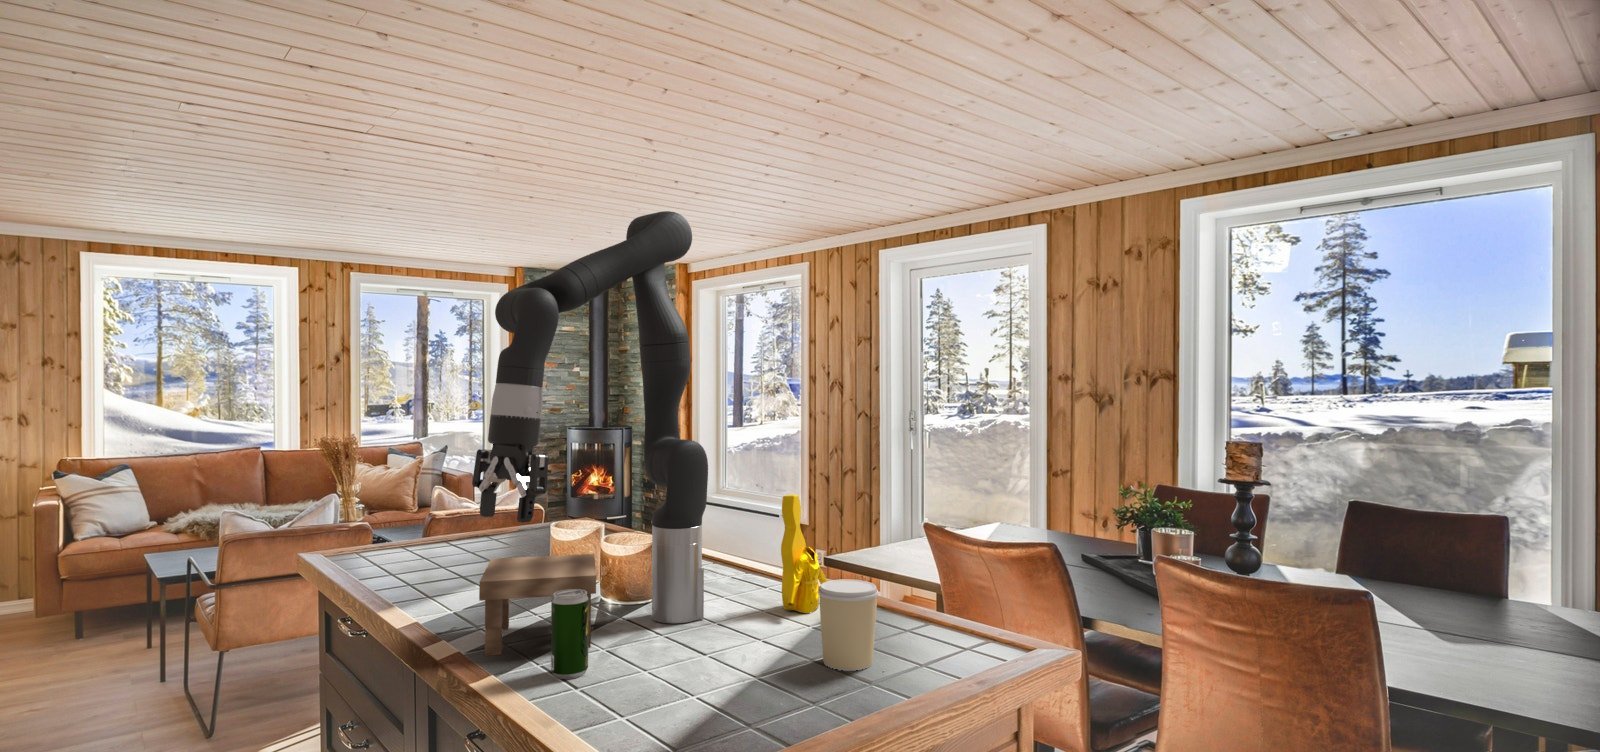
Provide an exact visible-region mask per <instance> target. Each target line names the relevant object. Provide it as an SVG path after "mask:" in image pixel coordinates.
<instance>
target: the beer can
mask: <svg viewBox="0 0 1600 752" xmlns="http://www.w3.org/2000/svg"><path fill="white" fill-rule="evenodd" d="M550 610H551V611H550V612H551V613H550V614H551V615H550V616H551V617H550V618H551V619H550V621H551V625H550V627H551V628H550V629H551V631H550V632H551V633H550V634H551V635H550V637H551V638H550V670H551V673H552V676H553V677H554V678H556V679H560V680H569V679H570V680H571V679H576V678H580V677H582V676H584V675H585V674H586V673H587V671H588V669H589V648H588V614H589V599H588V597H587V591H585V590H580V589H568V590H561V591H557V592H555V593H554V594H553V596H552V599H551V609H550Z"/></svg>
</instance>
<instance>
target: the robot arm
mask: <svg viewBox="0 0 1600 752" xmlns="http://www.w3.org/2000/svg"><path fill="white" fill-rule="evenodd" d="M625 238H626V239H625V240H623V241H620V242H618V243H616V244H613V245H610V246H608V247H605V248H603V249H602V248H601V249H600V250H597V251H595V252H592V253H589V254H587V255H584V256H582V257H580V258H578V259H574V260H573V261H571V262H569V263H568V264H565V265H564V266H562V267H560V268H558V269H556V270H555V271H553V272H552V273H550V274H548V275H545V276H543V277H541V278H538V279H535V280H533V281H530V282H527V283H524V284H522V285H519V286H517V287H515V288H513V289H511V290H508V291H507V292H506V293H504V294H503V295H502V296H501V297H500V298H499V299H498V301H497V304H496V306H495V311H494V315H495V319H496V322H497V324H498V325H499V326H500V327H501V328H502V329H503V330H505V331H506V332H508V333H510V334H513V337H512V340H511V343H510V344H509V345H508V346H507V347H505V348H504V349H502V350H501V351H500V353H499V357H498V359H497V368H496V377H495V378H496V379H495V386H494V391H493V394H492V397H491V407H490V417H489V425H488V432H487V433H488V436H487V442H488V443H489V444H492V447H491V449H483V448H482V449H477V450H476V454H475V455H476V456H475V461H474V466H473V467H474V469H473V476H472V480H471V485H472V487H473V488H477V489H478V490H479V491H480V493H481V495H480V503H479V515H480V517H483V518H486V517H487V518H493V517H494V516H495V513H496V505H497V504H496V503H497V494H498V493H497V492H496V491H497V490H498V489H499V487H500V485H501V484H502V483H503V482H505V481H506V480H507V481H512V483H513V485H514V486H516V487H517V490H518V493H519V499H518V505H517V506H518V507H517V518H516V521H517V522H518V523H530V522H531V521H532V519H533V517H534V514H535V513H534V512H535V510H534V509H535V502H536V501H535V500H536V497H538V496H540V495H544V494H546V493H547V489H548V477H549V476H548V475H549V473H548V472H549V471H548V470H549V459H550V458H549V455H548V454H541V453H534V447H537V446H538V445H539V442H540V434H541V433H540V430H541V421H542V413H543V411H542V410H543V404H544V403H543V399H544V398H543V385H544V376H545V365H546V364H545V363H546V360H547V358H548V355H549V353H550V350H551V347H552V343H553V341H554V338H555V335H556V332H557V329H558V325H559V324H558V323H559V319H560V317H559V316H560V314H562V313H565V312H570V311H574V310H577V309H578V308H580V307H582V306H583V305H585V304H587V303H588V302H591V301H592V300H594V299H596V298H598V297H599V296H601V295H603V294H604V293H606V292H607V291H609V290H611V289H613V288H615V287H616V286H618V285H620V284H622V283H623V282H625V281H627V280H629V279H631V280H632V285H633V292H634V298H635V307H636V315H637V316H636V317H637V325H638V326H637V327H638V328H637V329H638V345H639V346H638V347H639V356H640V357H639V358H640V359H639V361H640V368H641V375H642V376H641V378H642V392H643V404H644V405H643V407H644V408H643V409H644V441H643V442H644V443H643V458H644V459H643V461H644V470H645V473H646V475H647V477H648V479H649V480H650V482H652V483H653V484H654V485H656V486H659V487H662V488H663V487H664V488H666V489H665V490H666V495H665V500H664V503H663V504H662V505H661V506H659V507H657V508H655V509H654V510H653V512H652V515H651V517H652V518H651V519H652V520H651V521H652V522H651V523H652V525H651V526H652V527H651V530H652V531H651V532H652V534H651V535H652V536H651V539H652V540H651V541H652V543H651V545H652V547H651V548H652V549H651V558H652V559H651V619H652V620H653V621H655V622H658V623H662V624H686V623H690V622H694V621H698V620H704V614H705V613H704V604H705V603H704V602H705V601H704V599H705V595H704V593H705V591H704V590H705V587H704V585H705V584H704V583H705V576H704V575H705V574H704V572H705V569H704V566H703V565H702V564H703V515H704V513H705V510H706V507H707V501H708V500H707V499H708V498H707V497H708V485H709V483H708V482H709V480H708V479H709V462H708V455H707V452H706V450H705V449H704V447H703V446H702V445H701V444H700V443H699V442H697V441H695V440H693V439H692V440H691V439H684V438H683V439H681V436H680V427H679V407H680V403H681V400H682V397H683V394H684V392H685V389H686V386H687V384H688V381H689V377H690V374H691V351H690V350H691V349H690V338H689V332H688V329H687V327H686V324H685V322H684V320H683V319H682V317H681V314H680V313H679V311H678V309H677V308H676V306H675V305H674V303H673V300H672V298H671V296H670V294H669V290H668V286H667V280H666V268H665V264H666V263H671V262H676V261H678V260H680V259H681V258H684V256H685V255H686V254H687V253H688V252H689V250H690V248H691V246H692V242H693V231H692V228H691V226H690V223H689V222H688V220H687V219H686V218H685V216H683V215H682V214H681V213H678V212H676V211H669V210H666V211H665V210H664V211H663V210H662V211H658V212H653V213H649V214H645V215H641V216H638V217H636V218H635V217H634V219H633V220H631V222H630V223H629V225H628V227H627V230H626V237H625ZM482 473H483V477H482V479H481V476H482ZM538 479H539V481H538ZM538 482H539V483H538Z"/></svg>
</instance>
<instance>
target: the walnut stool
mask: <svg viewBox="0 0 1600 752" xmlns="http://www.w3.org/2000/svg"><path fill="white" fill-rule="evenodd" d="M596 570H597V568H596V558H595V553H583V554H565V555H563V554H562V555H545V556H544V555H542V556H524V557H523V556H521V557H503V558H501V557H499V558H491V559H490V560H489V562H488V565H487V566H486V568H485V570H484V572H483V574H482V576H481V577H480V579H479V584H478V585H479V587H478V588H479V591H478V592H479V593H478V594H479V595H478V596H479V597H478V599H479V601H482V602H483V601H484V656H497V655H499V656H500V655H502V652H503V651H502V650H503V631H505V630H509V628H510V600H512V599H529V598H547V597H553V594H554V593H555V592H557V591H561V590H568V589H580V590H585V591H587V597H588V599H589V614H588V649H589V648H590V649H591V648H592V647H591V646H592V645H591V643H592V642H591V641H592V640H591V639H592V638H591V636H592V634H591V633H592V632H591V631H592V626H591V625H592V624H591V623H592V622H591V621H592V609H591V608H592V602H591V601H592V595H593V594H597V571H596Z"/></svg>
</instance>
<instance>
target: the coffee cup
mask: <svg viewBox="0 0 1600 752" xmlns="http://www.w3.org/2000/svg"><path fill="white" fill-rule="evenodd" d="M818 594H819V614H820V615H819V617H820V631H821V632H820V633H821V645H822V646H821V649H822V658H823V664H824V665H825V666H826V667H827V666H828V668H829V667H830V669H832V668H833V669H832V670H835V669H838V670H837V671H841V670H843V671H844V672H855V671H856V670H858V671H862V669H863V670H866V669H865V668H867V669H869V668H870V667H871V666H873V662H874V661H873V660H874V651H875V634H876V620H877V607H878V606H877V603H878V595H879V590H878V588H877V585H876V584H875V583H873V582H870V581H866V580H861V579H852V578H851V579H850V578H849V579H846V578H845V579H832V580H827V582H824V583H822V584H820V586H819V590H818ZM868 667H869V668H868ZM856 672H857V671H856Z"/></svg>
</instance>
